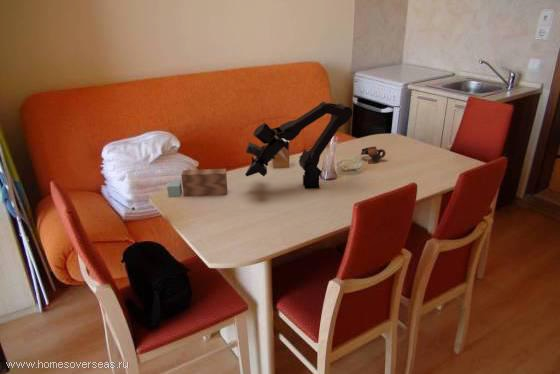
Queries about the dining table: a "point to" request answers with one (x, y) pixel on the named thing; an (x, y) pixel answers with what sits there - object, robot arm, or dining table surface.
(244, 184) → the dining table surface
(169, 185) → the teal cube
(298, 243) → the dining table surface
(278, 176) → the dining table surface
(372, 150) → the pottery mug
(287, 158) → the small box
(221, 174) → the brown patterned block
